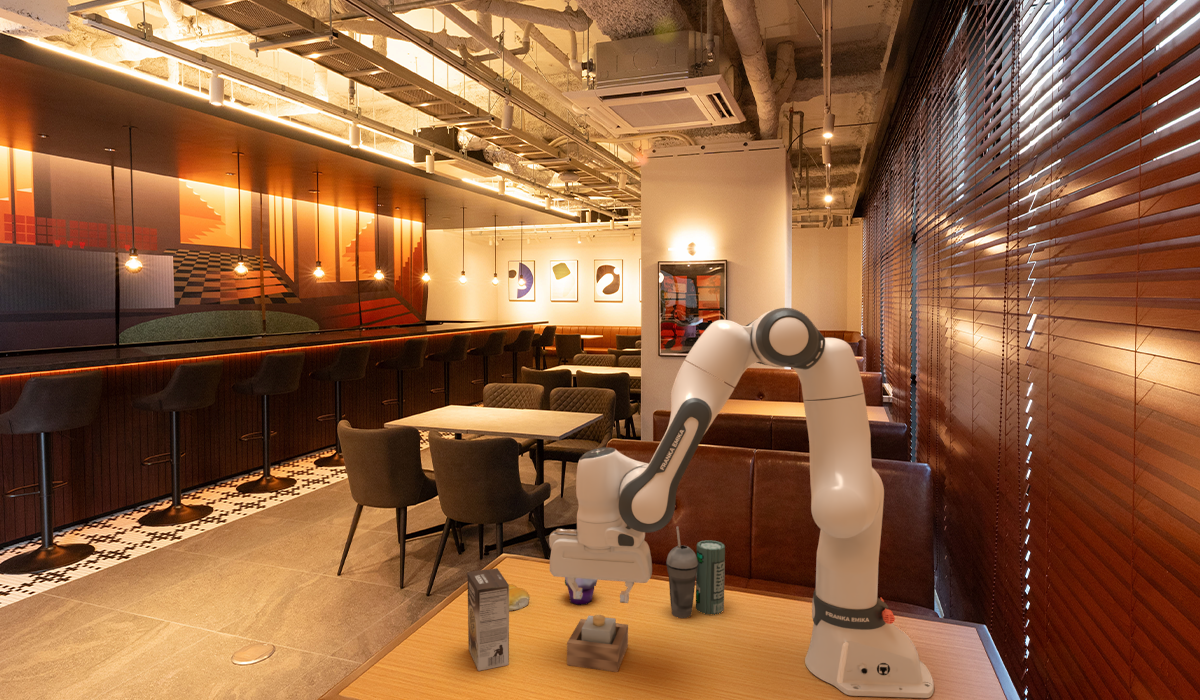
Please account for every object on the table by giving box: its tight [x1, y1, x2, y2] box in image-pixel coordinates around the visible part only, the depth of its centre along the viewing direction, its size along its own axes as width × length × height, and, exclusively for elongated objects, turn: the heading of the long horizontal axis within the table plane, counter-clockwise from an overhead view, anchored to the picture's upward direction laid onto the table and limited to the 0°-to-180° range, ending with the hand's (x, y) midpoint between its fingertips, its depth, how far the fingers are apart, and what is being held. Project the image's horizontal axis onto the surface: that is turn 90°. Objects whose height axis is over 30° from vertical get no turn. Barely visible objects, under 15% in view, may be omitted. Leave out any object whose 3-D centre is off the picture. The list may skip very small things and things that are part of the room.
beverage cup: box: [665, 526, 698, 619], centre depth 148 cm, size 7×7×20 cm
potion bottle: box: [564, 577, 598, 606], centre depth 155 cm, size 9×9×12 cm
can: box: [695, 539, 726, 616], centre depth 151 cm, size 6×6×15 cm
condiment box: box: [566, 618, 629, 673], centre depth 131 cm, size 10×10×4 cm
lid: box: [582, 614, 617, 645], centre depth 130 cm, size 6×6×6 cm
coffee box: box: [466, 567, 510, 672], centre depth 129 cm, size 9×6×16 cm
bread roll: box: [508, 583, 531, 612], centre depth 154 cm, size 8×9×4 cm
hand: (601, 599), depth 129 cm, fingers open, 8 cm apart
